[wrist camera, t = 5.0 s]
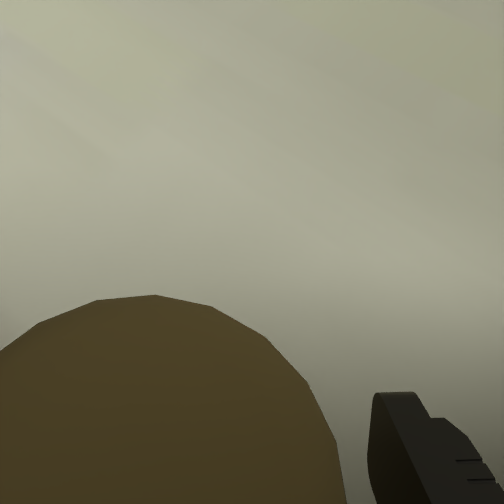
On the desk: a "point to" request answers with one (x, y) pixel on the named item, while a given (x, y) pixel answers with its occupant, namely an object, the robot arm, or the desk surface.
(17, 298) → the desk surface
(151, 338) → the cork
